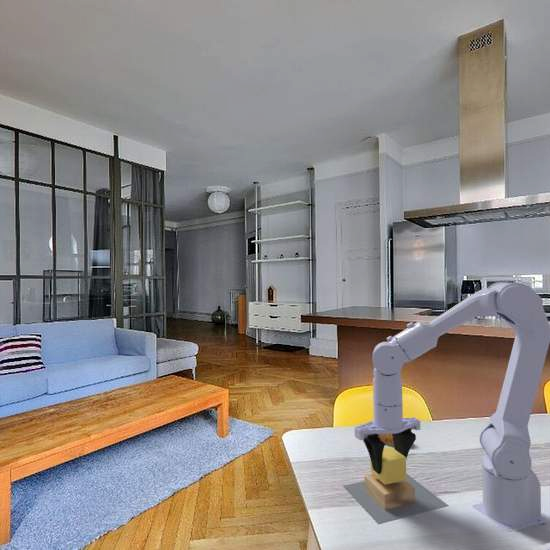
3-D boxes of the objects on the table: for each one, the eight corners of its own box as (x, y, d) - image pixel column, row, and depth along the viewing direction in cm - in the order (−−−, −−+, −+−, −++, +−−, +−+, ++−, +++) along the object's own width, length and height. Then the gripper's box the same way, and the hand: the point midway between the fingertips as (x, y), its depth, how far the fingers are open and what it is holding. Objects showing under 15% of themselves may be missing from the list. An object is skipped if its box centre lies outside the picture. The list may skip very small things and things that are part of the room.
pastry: (371, 447, 99) (371, 432, 99) (374, 436, 105) (373, 423, 105) (409, 452, 96) (408, 437, 96) (409, 441, 102) (408, 427, 102)
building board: (405, 474, 85) (405, 472, 85) (448, 508, 72) (448, 505, 72) (342, 488, 79) (342, 485, 79) (378, 527, 67) (378, 523, 67)
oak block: (392, 483, 80) (392, 469, 80) (414, 502, 73) (414, 487, 73) (364, 490, 78) (364, 475, 78) (384, 510, 71) (384, 494, 71)
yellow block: (391, 467, 79) (390, 446, 79) (406, 479, 74) (406, 457, 74) (370, 472, 77) (370, 450, 77) (385, 484, 72) (384, 461, 73)
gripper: (404, 392, 82) (405, 453, 82) (346, 400, 77) (347, 465, 77) (427, 402, 75) (428, 469, 75) (365, 411, 70) (366, 483, 70)
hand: (388, 468), depth 76 cm, fingers closed on yellow block, 5 cm apart
